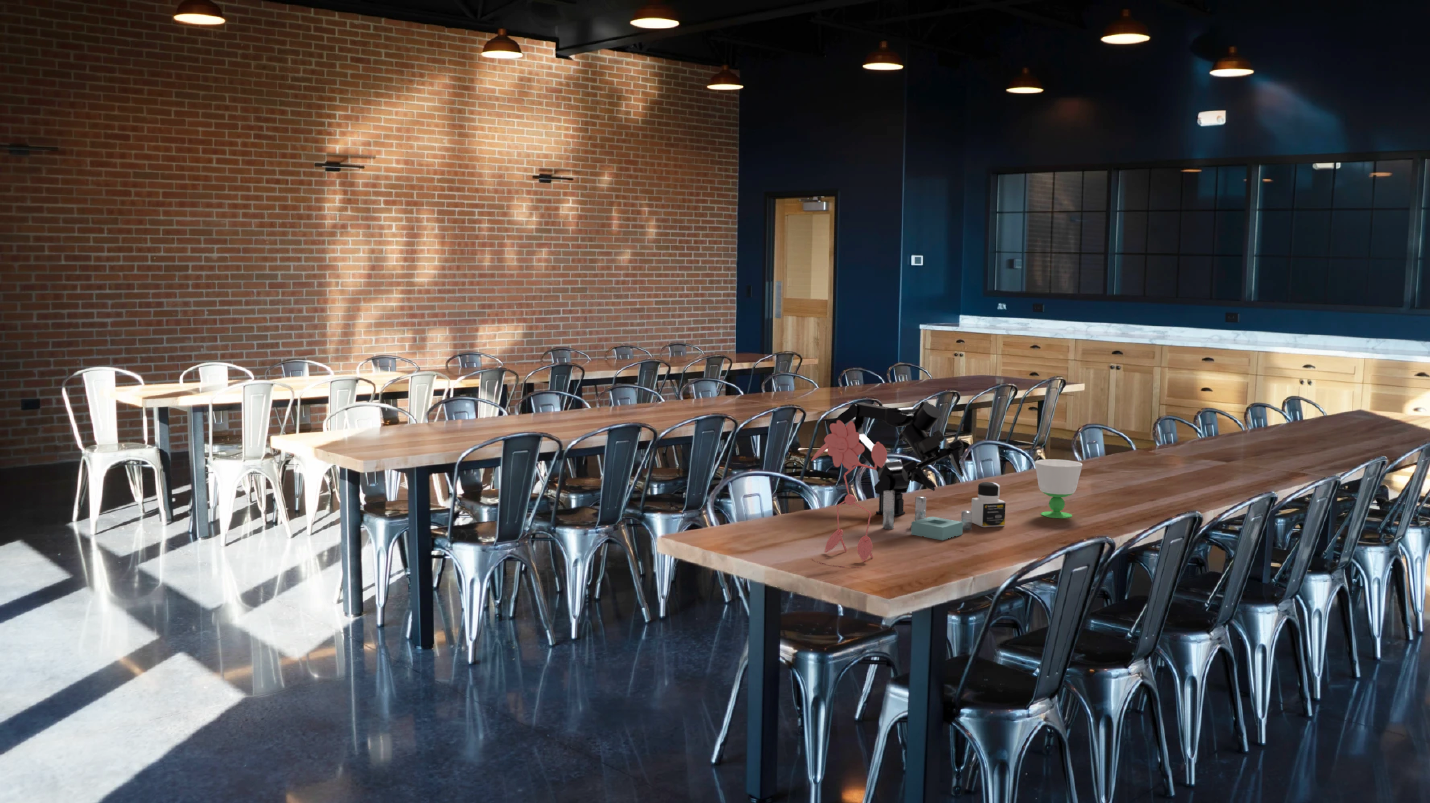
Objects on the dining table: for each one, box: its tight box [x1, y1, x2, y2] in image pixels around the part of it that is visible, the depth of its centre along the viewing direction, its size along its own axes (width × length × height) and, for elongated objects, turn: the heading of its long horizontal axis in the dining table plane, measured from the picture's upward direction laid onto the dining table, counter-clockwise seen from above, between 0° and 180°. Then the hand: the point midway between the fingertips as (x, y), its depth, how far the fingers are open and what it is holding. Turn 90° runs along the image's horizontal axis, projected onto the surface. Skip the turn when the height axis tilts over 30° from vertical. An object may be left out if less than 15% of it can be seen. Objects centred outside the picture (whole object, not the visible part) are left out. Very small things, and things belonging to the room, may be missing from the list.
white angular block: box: [970, 481, 1007, 528], centre depth 331 cm, size 7×7×12 cm
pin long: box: [882, 490, 895, 530], centre depth 324 cm, size 3×3×10 cm
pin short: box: [960, 510, 973, 531], centre depth 324 cm, size 3×3×5 cm
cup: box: [1034, 458, 1083, 519], centre depth 344 cm, size 14×14×16 cm
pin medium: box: [914, 495, 927, 521], centre depth 329 cm, size 3×3×8 cm
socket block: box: [910, 516, 964, 541], centre depth 317 cm, size 10×10×4 cm
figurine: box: [810, 420, 888, 569], centre depth 287 cm, size 15×26×35 cm, turn 40°
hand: (948, 483), depth 325 cm, fingers open, 9 cm apart
